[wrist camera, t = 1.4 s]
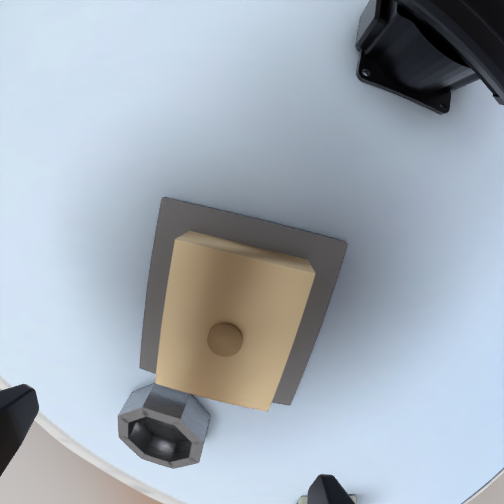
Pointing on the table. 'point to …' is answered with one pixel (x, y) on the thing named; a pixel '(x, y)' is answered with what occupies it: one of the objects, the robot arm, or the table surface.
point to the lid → (230, 319)
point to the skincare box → (303, 500)
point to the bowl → (164, 426)
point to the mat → (254, 234)
